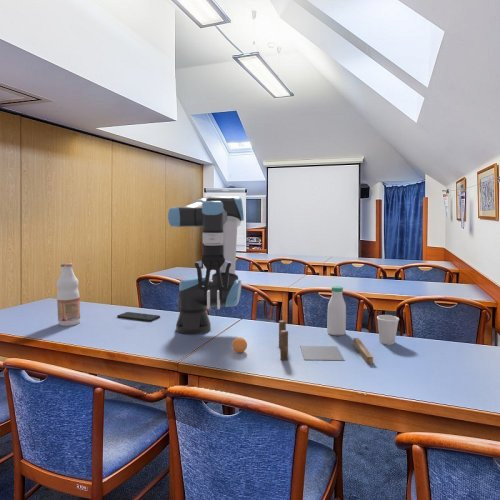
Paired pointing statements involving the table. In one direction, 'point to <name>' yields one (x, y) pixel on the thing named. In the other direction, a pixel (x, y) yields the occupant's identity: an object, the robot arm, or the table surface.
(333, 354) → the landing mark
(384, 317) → the dixie cup
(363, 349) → the wall
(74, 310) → the fruit juice
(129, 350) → the table surface
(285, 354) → the post
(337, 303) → the milk bottle
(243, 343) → the ball
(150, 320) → the smart home device
